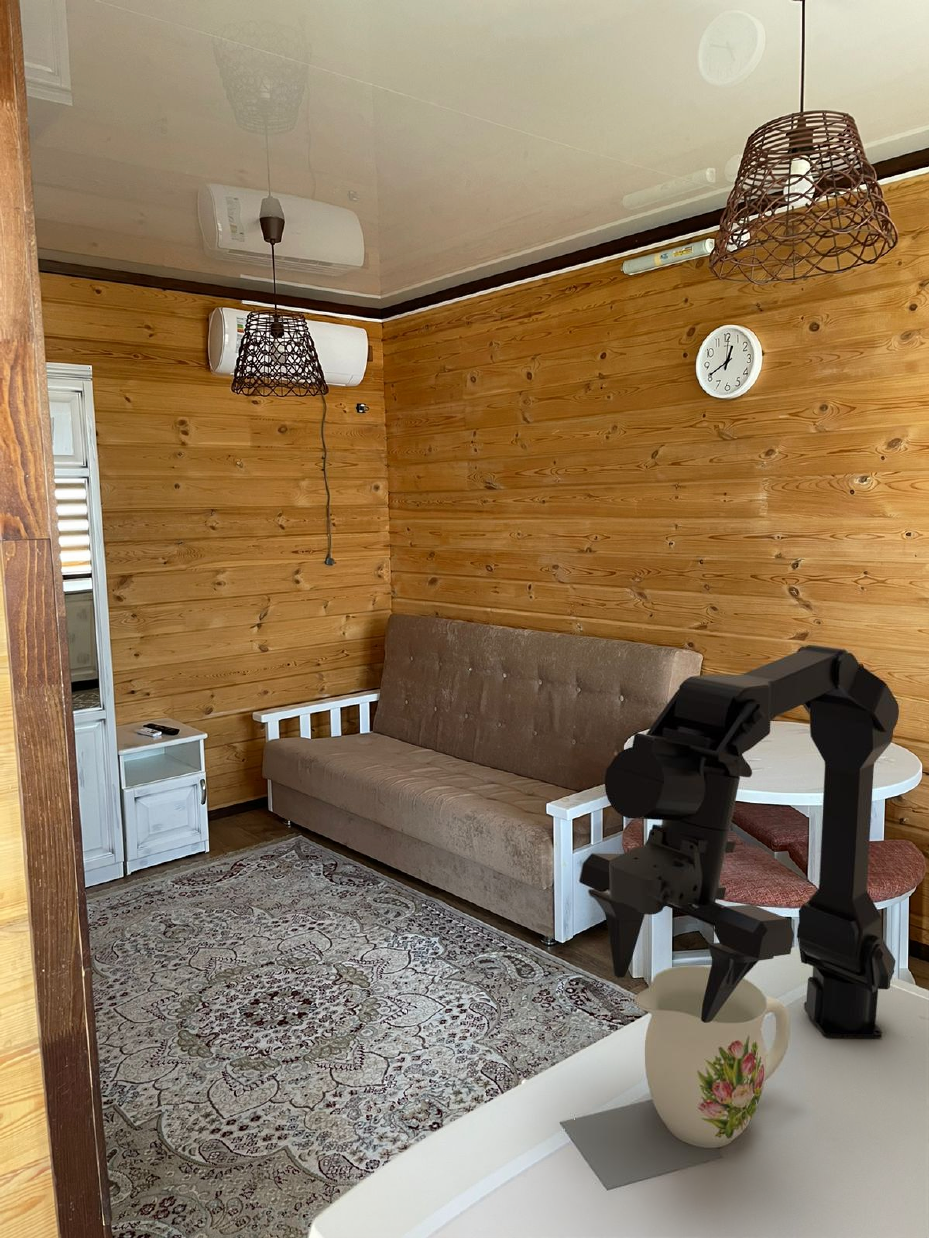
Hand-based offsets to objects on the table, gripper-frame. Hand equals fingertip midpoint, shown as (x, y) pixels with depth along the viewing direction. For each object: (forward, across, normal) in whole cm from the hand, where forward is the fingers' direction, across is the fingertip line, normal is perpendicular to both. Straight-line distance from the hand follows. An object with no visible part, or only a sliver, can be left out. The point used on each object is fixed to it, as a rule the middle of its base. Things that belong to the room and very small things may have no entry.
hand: (660, 998), depth 80 cm
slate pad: (+15, -2, +5) cm, 16 cm away
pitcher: (+13, 0, +12) cm, 18 cm away
